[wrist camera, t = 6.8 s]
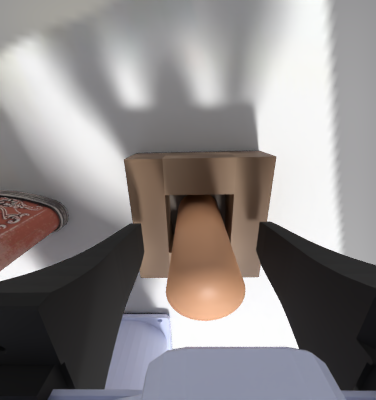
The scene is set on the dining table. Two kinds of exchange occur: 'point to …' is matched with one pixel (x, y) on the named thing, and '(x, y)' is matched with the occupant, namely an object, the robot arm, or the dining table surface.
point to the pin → (203, 263)
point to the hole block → (199, 185)
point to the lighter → (26, 222)
